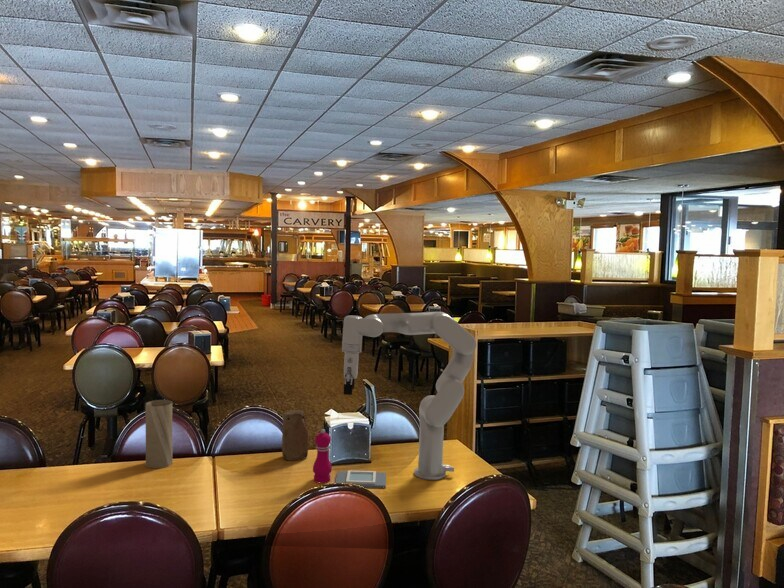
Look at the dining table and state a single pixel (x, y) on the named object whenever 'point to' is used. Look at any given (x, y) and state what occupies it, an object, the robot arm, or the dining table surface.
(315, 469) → the pepper mill
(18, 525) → the dining table surface
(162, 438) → the tube
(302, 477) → the dining table surface
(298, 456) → the block
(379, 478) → the grey panel
